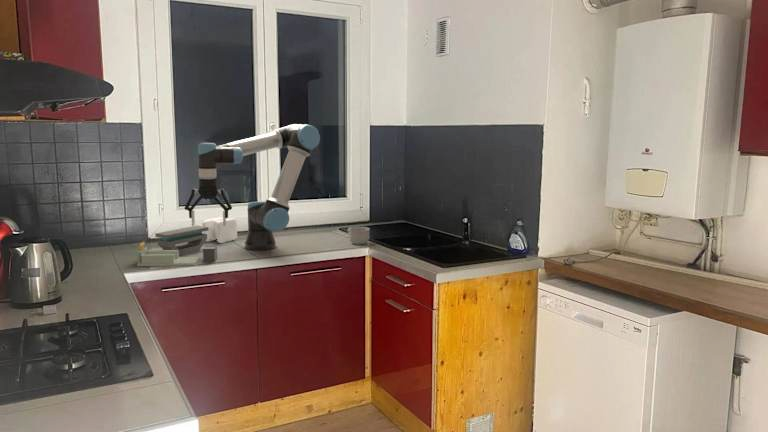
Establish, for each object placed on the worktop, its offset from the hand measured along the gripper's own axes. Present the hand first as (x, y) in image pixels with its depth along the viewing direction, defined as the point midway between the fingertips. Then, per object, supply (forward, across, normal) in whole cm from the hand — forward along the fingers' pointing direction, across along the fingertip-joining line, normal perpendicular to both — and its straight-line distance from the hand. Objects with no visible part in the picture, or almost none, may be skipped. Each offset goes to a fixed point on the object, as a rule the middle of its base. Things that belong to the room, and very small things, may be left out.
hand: (209, 225), depth 268 cm
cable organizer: (+16, +2, -43) cm, 46 cm away
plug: (+16, 0, 0) cm, 16 cm away
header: (+16, +17, +4) cm, 24 cm away
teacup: (+16, -69, -35) cm, 79 cm away
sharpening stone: (+16, +15, -16) cm, 27 cm away
